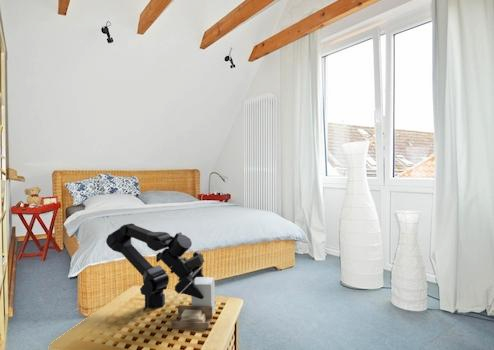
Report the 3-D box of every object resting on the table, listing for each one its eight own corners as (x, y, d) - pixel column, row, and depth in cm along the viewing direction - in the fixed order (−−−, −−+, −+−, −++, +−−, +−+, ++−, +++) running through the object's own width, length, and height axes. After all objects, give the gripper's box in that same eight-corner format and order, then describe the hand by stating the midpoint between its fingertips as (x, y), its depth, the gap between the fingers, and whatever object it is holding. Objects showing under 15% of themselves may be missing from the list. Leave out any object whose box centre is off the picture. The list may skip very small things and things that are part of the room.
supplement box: (215, 309, 124) (215, 276, 124) (211, 319, 117) (211, 284, 116) (196, 309, 125) (195, 276, 124) (191, 318, 118) (190, 283, 117)
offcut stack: (179, 326, 110) (178, 315, 110) (182, 319, 115) (182, 309, 115) (202, 326, 110) (202, 316, 110) (205, 320, 114) (205, 309, 114)
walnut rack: (172, 330, 109) (171, 316, 109) (179, 319, 117) (178, 305, 117) (207, 332, 108) (207, 317, 108) (212, 320, 116) (212, 306, 116)
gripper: (183, 254, 111) (216, 287, 110) (196, 240, 129) (224, 269, 129) (160, 277, 112) (193, 310, 111) (177, 260, 130) (205, 288, 130)
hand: (205, 292), depth 120 cm, fingers open, 9 cm apart
